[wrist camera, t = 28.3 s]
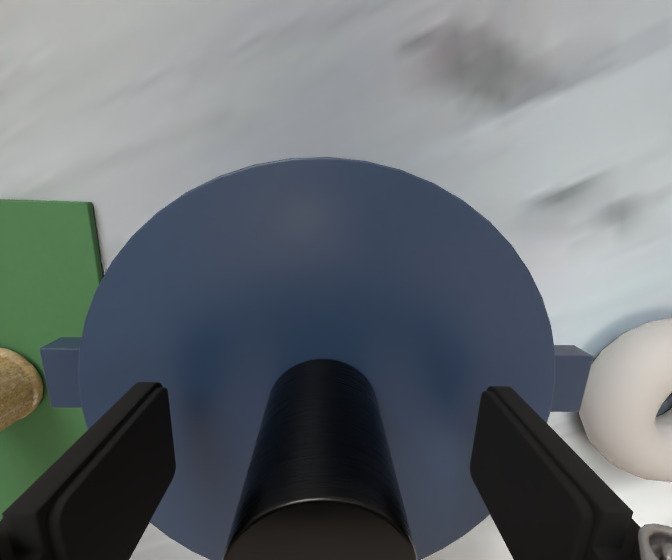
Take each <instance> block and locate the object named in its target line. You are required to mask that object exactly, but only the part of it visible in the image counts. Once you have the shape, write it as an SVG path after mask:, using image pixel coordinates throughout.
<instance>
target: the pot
mask: <svg viewBox="0 0 672 560" xmlns="http://www.w3.org/2000/svg"><path fill="white" fill-rule="evenodd" d="M81 338H82V337H60V338H58V339H56V340H55V341H53V342H51V343H49V344H47V345H45V346H43V347H41V348H40V349H39V350H40V355H41V360H42V365H43V370H44V375H45V379H46V384H47V389H48V394H49V399H50V404H51V407H52V408H82V407H81V400H80V390H79V381H78V368H79V348H80V343H81ZM554 350H555V385H554V392H553V399H552V406H551V410H550V412H579V411H580V408H581V404H582V400H583V396H584V392H585V388H586V384H587V380H588V376H589V372H590V368H591V364H592V360H593V357H592V356H591V355H589V354H588V353H586V352H584V351H583V350H581V349H579V348H577V347H576V346H573V345H554Z"/></svg>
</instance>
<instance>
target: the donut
mask: <svg viewBox="0 0 672 560" xmlns="http://www.w3.org/2000/svg"><path fill="white" fill-rule="evenodd" d="M670 393H672V318H668V319H662V320H656V321H650V322H647V323H645V324H643V325H641V326H638V327H636V328H634V329H632V330H630V331H627V332H625V333H623V334H622V335H621V336H619V337H618V338H617V339H616V340H614V341H613V342H612V343H611V344H609V345H608V346H607V347H606V348H604V349H603V350H602V351H601V352H600V354H599V355H598V356H597V358H596V359H595V360H594V362H593V363H592V364H591V368H590V372H589V376H588V380H587V384H586V388H585V392H584V396H583V400H582V404H581V408H580V411H579V415H580V418H581V421H582V424H583V426H584V429H585V432H586V434H587V437H588V439H589V440H590V442H591V443H592V444H593V445H594V447H595V448H596V449H597V450H598V451H599V452H600V453H601V454H602V455H603V456H604V457H605V458H606V459H607V460H608V461H609V462H611V463H612V464H613V465H615V466H616V467H618V468H621V469H623V470H625V471H627V472H629V473H632V474H634V475H636V476H639V477H641V478H644V479H648V480H657V481H666V482H672V408H671V409H670V410H668V411H667V412H666V413H664V414H662V415H660V416H657V417H656V415H657V413H658V411H659V408H660V406H661V404H662V403H663V402H664V401H665V399H666V398H667V397H668V396H669V395H670Z"/></svg>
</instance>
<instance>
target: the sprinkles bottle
mask: <svg viewBox="0 0 672 560" xmlns="http://www.w3.org/2000/svg"><path fill="white" fill-rule="evenodd" d="M42 397H43V382H42V379H41V377H40V375H39V373H38V371H37V370H36V368H35V367H34V366H33V365H32V364H31V363H30V362H29V361H27V360H26V359H25V358H24V357H23V356H21V355H20V354H18V353H16V352H14V351H11V350H9V349H6V348H0V432H1V431H2V430H3V429H5V428H6V427H8V426H10V425H11V424H13V423H14V422H15V421H17V420H19V419H22V418H24V417H26V416H27V415H29V414H30V413H31V412H32V411H34V410H35V409H36V408H37V406H38V404H39V403H40V400H41V399H42Z"/></svg>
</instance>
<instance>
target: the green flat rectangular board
mask: <svg viewBox="0 0 672 560" xmlns="http://www.w3.org/2000/svg"><path fill="white" fill-rule="evenodd" d="M102 279H103V274H102V267H101V261H100V254H99V247H98V240H97V233H96V226H95V220H94V213H93V206H92V203H91V202H61V201H30V200H0V348H6V349H9V350H11V351H14V352H16V353H18V354H20V355H21V356H23V357H24V358H25V359H26V360H27V361H29V362H30V363H31V364H32V365H33V366H34V367H35V368H36V370H37V371H38V373H39V375H40V377H41V379H42V382H43V397H42V399H41V400H40V403H39V404H38V406H37V408H36V409H35V410H34V411H32V412H31V413H30V414H29V415H27V416H26V417H24V418H22V419H19V420H17V421H15V422H14V423H13V424H11V425H10V426H8V427H6V428H5V429H3V430H2V431H1V432H0V520H2V519H3V515H2V513H3V512H4V511H5V510H6V509H7V508H8V507H9V506H10V505H11V504H12V503H13V502H14V501H15V500H17V499H18V498H19V497H20V496H21V495H22V494H23V493H24V492H25V491H26V490H27V489H28V488H29V487H30V486H31V485H32V484H33V483H34V482H35V481H36V480H37V479H38V478H39V477H40V476H41V475H42V474H43V473H44V472H45V471H46V470H47V469H48V468H49V467H50V466H51V465H52V464H53V463H54V462H56V461H57V460H58V459H59V458H60V457H61V456H62V455H63V454H64V453H65V452H66V451H67V450H68V449H69V448H70V447H71V446H72V445H73V444H74V443H75V442H76V441H77V440H78V439H79V438H80V437H81V436H82V435H83V434H84V433H85V432H86V431H87V426H86V422H85V418H84V415H83V411H82V408H52V407H51V404H50V399H49V394H48V389H47V384H46V379H45V375H44V370H43V365H42V360H41V355H40V350H39V349H40V348H41V347H43V346H45V345H47V344H49V343H51V342H53V341H55V340H56V339H58V338H60V337H82V333H83V328H84V323H85V319H86V316H87V313H88V310H89V308H90V305H91V302H92V300H93V297H94V294H95V292H96V289H97V288H98V286H99V284H100V282H101V281H102Z"/></svg>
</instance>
